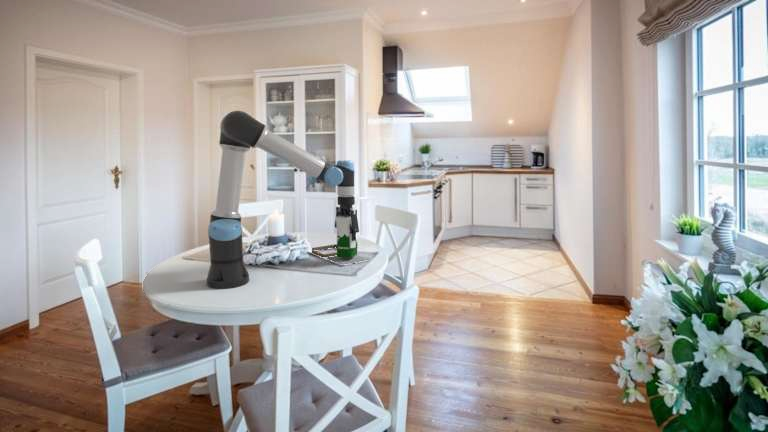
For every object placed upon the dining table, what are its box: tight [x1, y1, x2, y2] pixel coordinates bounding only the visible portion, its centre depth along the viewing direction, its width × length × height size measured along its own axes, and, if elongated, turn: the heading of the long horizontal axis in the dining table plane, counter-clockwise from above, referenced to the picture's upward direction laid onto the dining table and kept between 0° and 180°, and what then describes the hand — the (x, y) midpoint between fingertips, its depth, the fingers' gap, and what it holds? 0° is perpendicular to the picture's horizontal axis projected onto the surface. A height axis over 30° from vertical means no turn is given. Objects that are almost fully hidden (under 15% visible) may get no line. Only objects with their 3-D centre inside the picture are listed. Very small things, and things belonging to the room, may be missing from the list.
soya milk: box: [335, 214, 359, 258], centre depth 196 cm, size 9×9×20 cm
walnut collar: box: [311, 243, 337, 257], centre depth 212 cm, size 16×16×2 cm
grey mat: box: [327, 254, 370, 265], centre depth 198 cm, size 14×14×1 cm
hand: (346, 245), depth 197 cm, fingers open, 9 cm apart
